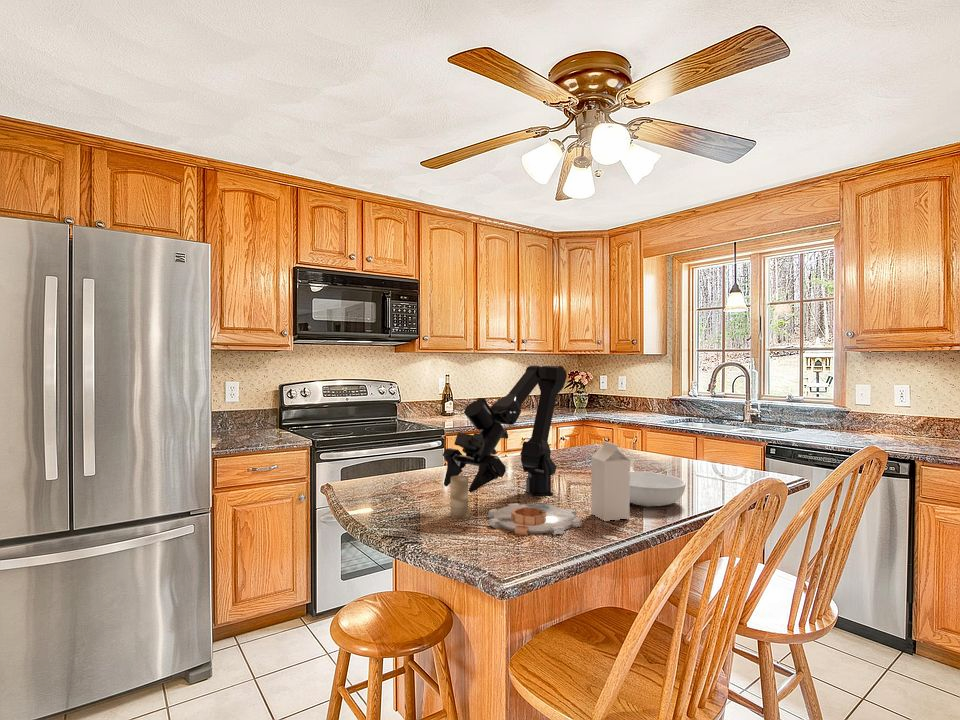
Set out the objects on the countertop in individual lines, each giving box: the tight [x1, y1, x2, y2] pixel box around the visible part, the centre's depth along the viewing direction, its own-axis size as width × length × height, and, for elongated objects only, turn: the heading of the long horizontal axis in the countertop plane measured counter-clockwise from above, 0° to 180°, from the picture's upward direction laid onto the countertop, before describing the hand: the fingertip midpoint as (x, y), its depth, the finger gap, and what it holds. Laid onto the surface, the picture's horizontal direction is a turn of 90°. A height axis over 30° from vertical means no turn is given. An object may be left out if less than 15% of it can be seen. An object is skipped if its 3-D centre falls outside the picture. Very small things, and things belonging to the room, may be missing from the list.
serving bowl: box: [629, 471, 687, 507], centre depth 154 cm, size 21×21×7 cm
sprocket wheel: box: [487, 502, 583, 536], centre depth 136 cm, size 23×23×4 cm
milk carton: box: [590, 440, 631, 522], centre depth 139 cm, size 7×7×19 cm
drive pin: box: [449, 474, 469, 520], centre depth 140 cm, size 4×4×10 cm
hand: (457, 488), depth 139 cm, fingers open, 9 cm apart
